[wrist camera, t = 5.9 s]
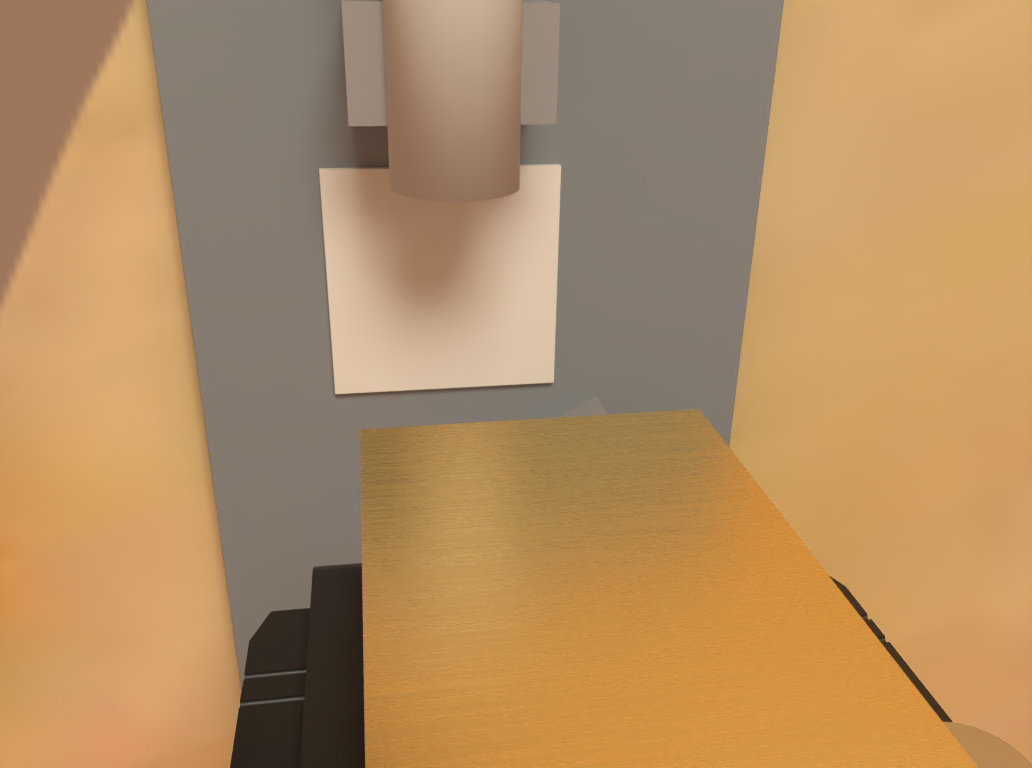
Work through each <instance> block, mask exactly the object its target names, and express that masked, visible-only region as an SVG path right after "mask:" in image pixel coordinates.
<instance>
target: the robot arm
mask: <svg viewBox="0 0 1032 768" xmlns="http://www.w3.org/2000/svg"><path fill="white" fill-rule="evenodd" d="M829 577H830V576H829ZM830 578H831V579H832V580H833V582H834V583H835V584H836V586H837V587H838V588H839V589H840V591H841V592H842V593H843V595H844V596H845V597H846V598H847V600H848V601H849V602H850V604H851V605H852V606H853V607H854V609H855V610H856V611H857V613H858V614H859V615H860V616H861V618H862V619H863V620H864V622H865V623H866V624H867V625H868V627H869V628H870V629H871V630H872V632H873V633H874V634H875V636H876V637H877V638H878V639H879V641H880V642H881V643H882V645H883V646H884V647H885V648H886V650H887V651H888V652H889V654H890V655H891V656H892V657H893V659H894V660H895V661H896V663H897V664H898V665H899V666H900V668H901V669H902V670H903V672H904V673H905V674H906V675H907V677H908V678H909V679H910V681H911V682H912V683H913V684H914V686H915V687H916V688H917V690H918V691H919V692H920V693H921V695H922V696H923V697H924V699H925V700H926V701H927V702H928V704H929V705H930V706H931V708H932V709H933V710H934V711H935V713H936V714H937V715H938V717H939V718H940V719H941V720H942V722H943V723H944V724H945V726H946V727H947V728H948V729H949V731H950V732H951V733H952V735H953V736H954V737H955V738H956V740H957V741H958V742H959V744H960V745H961V746H962V747H963V749H964V750H965V751H966V753H967V754H968V755H969V756H970V758H971V759H972V760H973V762H974V763H975V764H976V765H977V767H978V768H1032V764H1031V763H1030V762H1029V761H1028V760H1027V759H1026V758H1025V757H1024V756H1023V755H1022V754H1021V753H1020V752H1018V751H1017V750H1016V749H1015V748H1013V747H1012V746H1011V745H1009V744H1008V743H1006V742H1004V741H1003V740H1001V739H1000V738H998V737H996V736H994V735H992V734H990V733H988V732H985V731H983V730H980V729H978V728H975V727H971V726H968V725H964V724H959V723H953V722H952V720H951V719H950V718H949V717H948V715H947V714H946V713H945V712H944V710H943V709H942V708H941V707H940V705H939V704H938V703H937V701H936V700H935V699H934V698H933V696H932V695H931V694H930V693H929V691H928V690H927V689H926V688H925V686H924V685H923V684H922V683H921V681H920V680H919V679H918V677H917V676H916V675H915V674H914V672H913V671H912V670H911V669H910V667H909V666H908V665H907V664H906V662H905V661H904V660H903V659H902V657H901V656H900V655H899V653H898V652H897V651H896V650H895V648H894V647H893V646H892V645H891V643H890V642H886V641H885V636H884V635H883V633H882V632H881V631H880V629H879V628H878V627H877V626H876V624H875V623H874V622H873V621H872V619H870V620H868V618H867V613H866V612H865V611H864V609H863V608H862V607H861V605H860V604H859V603H858V602H857V600H856V599H855V598H854V597H853V595H852V594H851V593H850V592H849V590H848V589H847V588H846V587H845V586H844V585H842V584H841V583H839V582H838V581H836V580H835V579H833V578H832V577H830ZM230 768H365V722H364V661H363V599H362V563H352V564H340V565H328V566H316V567H313V572H312V587H311V602H310V608H303V609H292V610H281V611H271V612H270V613H269V615H268V616H267V618H266V619H265V620H264V622H263V623H262V624H261V626H260V627H259V628H258V630H257V631H256V632H255V634H254V635H253V637H252V638H251V639H250V641H249V646H248V652H247V659H246V666H245V672H244V680H243V686H242V692H241V699H240V708H239V712H238V719H237V725H236V732H235V739H234V745H233V752H232V759H231V765H230Z"/></svg>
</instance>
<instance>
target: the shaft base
mask: <svg viewBox="0 0 1032 768" xmlns="http://www.w3.org/2000/svg"><path fill="white" fill-rule="evenodd" d="M783 2H784V0H147V6H148V14H149V21H150V28H151V35H152V43H153V50H154V57H155V64H156V72H157V79H158V86H159V94H160V101H161V108H162V115H163V123H164V130H165V137H166V144H167V152H168V159H169V166H170V173H171V181H172V188H173V195H174V203H175V210H176V217H177V224H178V232H179V239H180V246H181V253H182V261H183V268H184V275H185V282H186V290H187V297H188V304H189V311H190V319H191V326H192V333H193V341H194V348H195V355H196V362H197V370H198V377H199V384H200V391H201V399H202V406H203V413H204V420H205V428H206V435H207V442H208V450H209V457H210V464H211V471H212V479H213V486H214V493H215V500H216V508H217V515H218V522H219V529H220V537H221V544H222V551H223V558H224V566H225V573H226V580H227V588H228V595H229V602H230V609H231V617H232V624H233V631H234V638H235V646H236V653H237V660H238V667H239V675H240V682H241V689H242V686H243V680H244V672H245V666H246V659H247V652H248V646H249V641H250V639H251V638H252V637H253V635H254V634H255V632H256V631H257V630H258V628H259V627H260V626H261V624H262V623H263V622H264V620H265V619H266V618H267V616H268V615H269V613H270V612H271V611H281V610H292V609H303V608H310V602H311V587H312V572H313V567H316V566H328V565H340V564H352V563H362V537H361V475H360V429H375V428H392V427H409V426H426V425H442V424H459V423H476V422H492V421H509V420H526V419H542V418H559V417H576V416H592V415H609V414H626V413H642V412H659V411H676V410H692V409H699V410H700V411H701V412H702V413H703V415H704V416H705V417H706V419H707V420H708V421H709V422H710V424H711V425H712V426H713V428H714V429H715V430H716V431H717V433H718V434H719V435H720V437H721V438H722V439H723V440H724V442H725V443H726V444H727V446H728V447H729V443H730V434H731V426H732V418H733V410H734V402H735V394H736V385H737V377H738V369H739V361H740V353H741V345H742V337H743V328H744V320H745V312H746V304H747V296H748V288H749V279H750V271H751V263H752V255H753V247H754V239H755V231H756V222H757V214H758V206H759V198H760V190H761V182H762V174H763V165H764V157H765V149H766V141H767V133H768V125H769V116H770V108H771V100H772V92H773V84H774V76H775V68H776V59H777V51H778V43H779V35H780V27H781V19H782V10H783Z"/></svg>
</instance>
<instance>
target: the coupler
mask: <svg viewBox="0 0 1032 768" xmlns="http://www.w3.org/2000/svg"><path fill="white" fill-rule="evenodd" d="M360 475H361V537H362V599H363V661H364V722H365V768H978V767H977V765H976V764H975V763H974V762H973V760H972V759H971V758H970V756H969V755H968V754H967V753H966V751H965V750H964V749H963V747H962V746H961V745H960V744H959V742H958V741H957V740H956V738H955V737H954V736H953V735H952V733H951V732H950V731H949V729H948V728H947V727H946V726H945V724H944V723H943V722H942V720H941V719H940V718H939V717H938V715H937V714H936V713H935V711H934V710H933V709H932V708H931V706H930V705H929V704H928V702H927V701H926V700H925V699H924V697H923V696H922V695H921V693H920V692H919V691H918V690H917V688H916V687H915V686H914V684H913V683H912V682H911V681H910V679H909V678H908V677H907V675H906V674H905V673H904V672H903V670H902V669H901V668H900V666H899V665H898V664H897V663H896V661H895V660H894V659H893V657H892V656H891V655H890V654H889V652H888V651H887V650H886V648H885V647H884V646H883V645H882V643H881V642H880V641H879V639H878V638H877V637H876V636H875V634H874V633H873V632H872V630H871V629H870V628H869V627H868V625H867V624H866V623H865V622H864V620H863V619H862V618H861V616H860V615H859V614H858V613H857V611H856V610H855V609H854V607H853V606H852V605H851V604H850V602H849V601H848V600H847V598H846V597H845V596H844V595H843V593H842V592H841V591H840V589H839V588H838V587H837V586H836V584H835V583H834V582H833V580H832V579H831V578H830V577H829V575H828V574H827V573H826V571H825V570H824V569H823V568H822V566H821V565H820V564H819V562H818V561H817V560H816V559H815V557H814V556H813V555H812V553H811V552H810V551H809V550H808V548H807V547H806V546H805V544H804V543H803V542H802V541H801V539H800V538H799V537H798V535H797V534H796V533H795V532H794V530H793V529H792V528H791V526H790V525H789V524H788V523H787V521H786V520H785V519H784V517H783V516H782V515H781V514H780V512H779V511H778V510H777V508H776V507H775V506H774V505H773V503H772V502H771V501H770V499H769V498H768V497H767V496H766V494H765V493H764V492H763V490H762V489H761V488H760V487H759V485H758V484H757V483H756V481H755V480H754V479H753V478H752V476H751V475H750V474H749V472H748V471H747V470H746V469H745V467H744V466H743V465H742V463H741V462H740V461H739V460H738V458H737V457H736V456H735V455H734V453H733V452H732V451H731V449H730V448H729V447H728V446H727V444H726V443H725V442H724V440H723V439H722V438H721V437H720V435H719V434H718V433H717V431H716V430H715V429H714V428H713V426H712V425H711V424H710V422H709V421H708V420H707V419H706V417H705V416H704V415H703V413H702V412H701V411H700V410H699V409H692V410H676V411H659V412H642V413H626V414H609V415H592V416H576V417H559V418H542V419H526V420H509V421H492V422H476V423H459V424H442V425H426V426H409V427H392V428H375V429H360Z"/></svg>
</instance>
